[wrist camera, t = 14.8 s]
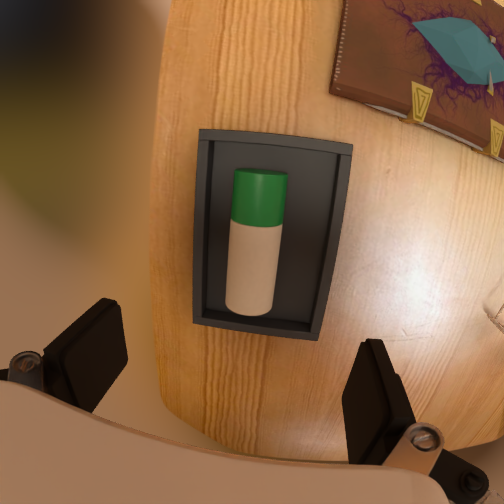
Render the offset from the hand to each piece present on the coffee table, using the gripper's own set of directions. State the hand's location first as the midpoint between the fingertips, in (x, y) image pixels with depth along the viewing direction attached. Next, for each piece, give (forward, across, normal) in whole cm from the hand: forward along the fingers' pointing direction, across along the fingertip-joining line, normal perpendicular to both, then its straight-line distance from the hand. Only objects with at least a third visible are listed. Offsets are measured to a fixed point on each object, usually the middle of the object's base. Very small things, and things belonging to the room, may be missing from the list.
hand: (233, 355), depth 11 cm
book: (+14, -16, -19) cm, 28 cm away
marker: (+13, 0, -1) cm, 13 cm away
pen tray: (+14, 0, -1) cm, 14 cm away
